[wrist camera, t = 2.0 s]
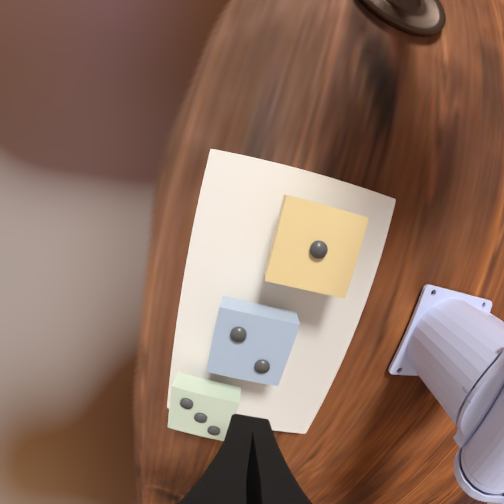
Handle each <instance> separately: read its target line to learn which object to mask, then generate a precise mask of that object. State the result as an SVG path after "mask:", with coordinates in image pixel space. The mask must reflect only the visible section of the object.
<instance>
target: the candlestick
mask: <svg viewBox="0 0 504 504" xmlns="http://www.w3.org/2000/svg"><path fill="white" fill-rule="evenodd" d="M359 1H360V2H361V3H362V4H363V5H364V6H365V7H366V8H367V9H368V10H369V11H370V12H371V13H373V14H374V15H375V16H377V17H378V18H379V19H381V20H382V21H384V22H385V23H387V24H388V25H390V26H392V27H394V28H396V29H398V30H400V31H403V32H405V33H408V34H411V35H415V36H422V37H426V36H432V35H434V34H436V33H437V32H439V31H440V30H441V29H442V28H443V27H444V24H445V13H444V10H443V7H442V5H441V3H440V2H439V0H359Z"/></svg>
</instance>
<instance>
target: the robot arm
mask: <svg viewBox="0 0 504 504" xmlns="http://www.w3.org/2000/svg"><path fill="white" fill-rule="evenodd" d="M433 290H434V291H433ZM432 291H433V293H432V294H431V292H432ZM491 308H492V302H491V301H490V300H487V299H483V298H479V297H475V296H472V295H468V294H464V293H460V292H456V291H453V290H449V289H445V288H441V287H437V286H433V285H430V284H427V285H425V286H424V287H423V289H422V292H421V294H420V297H419V300H418V302H417V305H416V308H415V310H414V313H413V315H412V318H411V320H410V323H409V325H408V327H407V330H406V332H405V334H404V337H403V339H402V341H401V343H400V345H399V348H398V350H397V352H396V354H395V356H394V358H393V360H392V362H391V364H390V366H389V369H388V371H389V372H390V374H392V375H411V376H419V377H420V378H421V379H422V381H423V382H424V383H425V385H426V386H427V387H428V389H429V390H430V391H431V393H432V394H433V395H434V397H435V398H436V399H437V401H438V402H439V403H440V405H441V406H442V407H443V409H444V410H445V411H446V413H447V414H448V416H449V417H450V418H451V420H452V421H453V423H454V424H455V425H456V427H457V428H458V430H457V433H456V434H455V436H454V438H453V439H454V440H455V442H456V443H457V445H458V446H459V450H458V451H457V453H456V456H455V459H454V474H455V477H456V480H457V482H458V484H459V485H460V487H461V488H462V490H463V491H464V492H465V493H466V494H468V495H469V496H470V497H472V498H474V499H476V500H479V501H483V502H494V503H499V504H504V322H503V321H502V320H500V319H499V318H497V317H495V316H494V315H492V314H491V313H490V310H491ZM399 368H400V369H399ZM398 369H399V370H398ZM178 504H312V503H311V501H310V500H309V499H308V497H307V496H306V495H305V493H304V492H303V491H302V489H301V488H300V486H299V485H298V483H297V481H296V480H295V478H294V476H293V475H292V473H291V471H290V469H289V467H288V466H287V464H286V462H285V460H284V457H283V455H282V453H281V451H280V449H279V447H278V444H277V442H276V439H275V437H274V434H273V431H272V428H271V425H270V422H269V420H268V419H264V418H258V417H252V416H246V415H240V414H233V415H232V416H231V420H230V423H229V426H228V429H227V433H226V436H225V439H224V441H223V443H222V445H221V447H220V449H219V451H218V453H217V455H216V456H215V458H214V459H213V461H212V462H211V464H210V466H209V467H208V469H207V470H206V471H205V473H204V474H203V475H202V477H201V478H200V479H199V481H198V482H197V483H196V484H195V486H194V487H193V488H192V489H191V490H190V491H189V492H188V493H187V495H186V496H185V497H184V498H183V499H182V500H181V501H180V502H179V503H178Z"/></svg>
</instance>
